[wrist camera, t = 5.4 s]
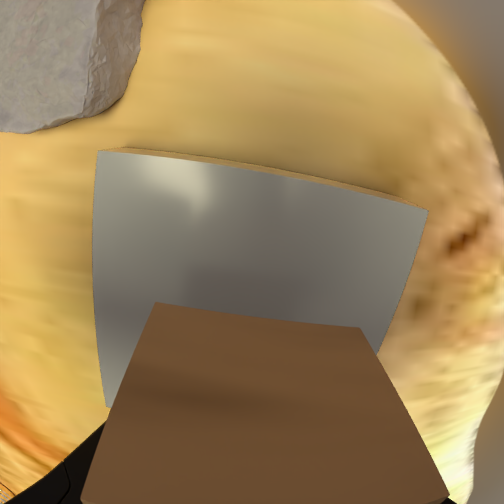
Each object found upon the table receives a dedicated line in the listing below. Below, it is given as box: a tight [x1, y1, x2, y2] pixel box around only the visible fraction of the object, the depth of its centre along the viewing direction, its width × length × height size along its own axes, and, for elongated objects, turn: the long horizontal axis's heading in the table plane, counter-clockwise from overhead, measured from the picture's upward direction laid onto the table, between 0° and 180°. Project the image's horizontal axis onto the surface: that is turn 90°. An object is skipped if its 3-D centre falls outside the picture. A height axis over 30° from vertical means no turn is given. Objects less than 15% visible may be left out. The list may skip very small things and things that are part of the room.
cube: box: [80, 302, 450, 504], centre depth 7 cm, size 6×6×6 cm
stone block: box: [0, 0, 145, 134], centre depth 9 cm, size 12×5×10 cm
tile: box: [92, 147, 429, 408], centre depth 14 cm, size 13×13×3 cm
